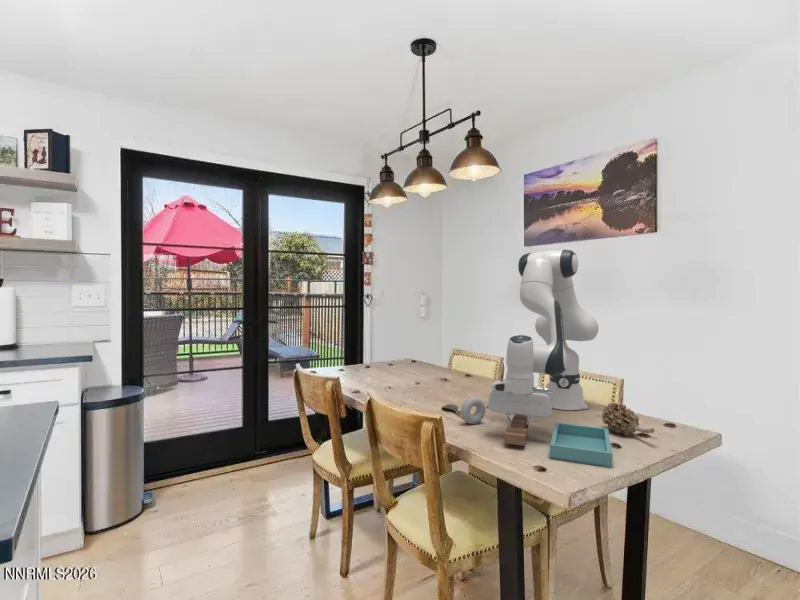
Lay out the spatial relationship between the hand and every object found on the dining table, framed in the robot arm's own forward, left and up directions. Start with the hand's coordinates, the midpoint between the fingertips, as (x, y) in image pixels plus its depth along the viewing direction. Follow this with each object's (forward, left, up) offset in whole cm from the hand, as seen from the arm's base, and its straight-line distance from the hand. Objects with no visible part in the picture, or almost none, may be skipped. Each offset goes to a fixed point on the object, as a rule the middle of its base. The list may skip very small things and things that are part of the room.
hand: (518, 427), depth 148 cm
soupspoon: (-19, -26, -4) cm, 32 cm away
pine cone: (-18, +34, -4) cm, 39 cm away
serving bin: (+2, +19, -4) cm, 19 cm away
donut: (-10, -17, -4) cm, 20 cm away
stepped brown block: (+2, 0, -2) cm, 3 cm away
